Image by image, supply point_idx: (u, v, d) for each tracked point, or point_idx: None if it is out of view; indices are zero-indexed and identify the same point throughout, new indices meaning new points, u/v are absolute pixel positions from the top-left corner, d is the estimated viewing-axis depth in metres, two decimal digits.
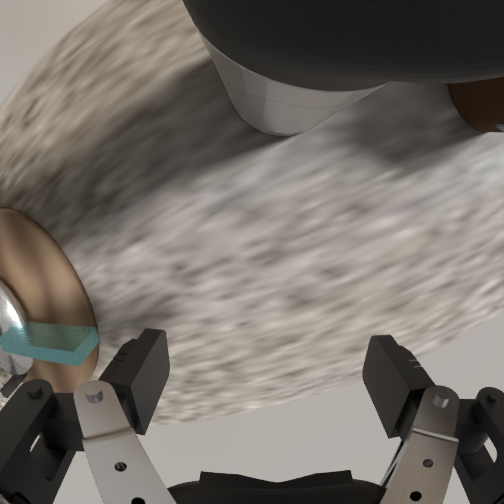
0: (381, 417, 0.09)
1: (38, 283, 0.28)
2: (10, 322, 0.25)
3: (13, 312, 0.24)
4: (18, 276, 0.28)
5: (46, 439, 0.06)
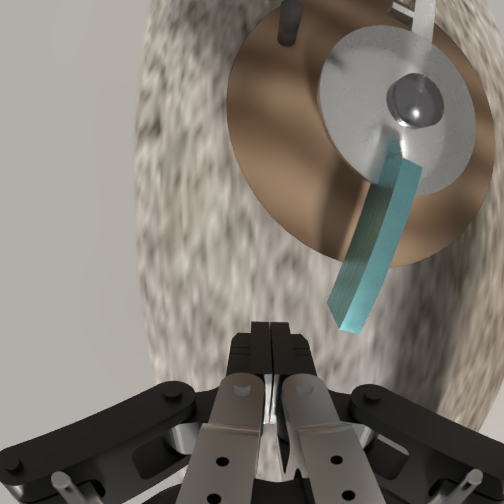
0: None
1: None
2: None
3: (417, 193, 0.20)
4: None
5: (165, 441, 0.07)
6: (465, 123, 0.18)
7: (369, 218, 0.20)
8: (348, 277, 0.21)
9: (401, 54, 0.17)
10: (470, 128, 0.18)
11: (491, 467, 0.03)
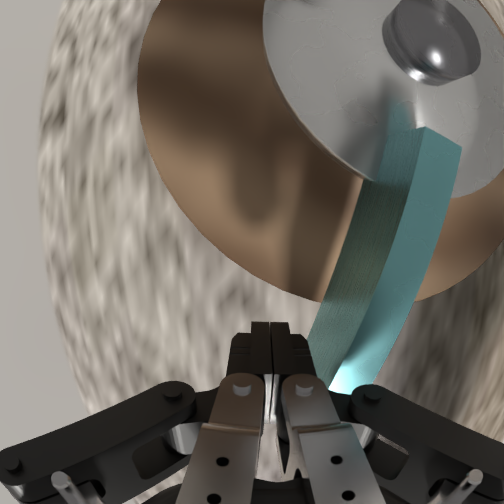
0: None
1: None
2: None
3: None
4: None
5: (165, 441, 0.07)
6: None
7: (360, 245, 0.11)
8: (322, 347, 0.12)
9: None
10: None
11: (491, 467, 0.03)
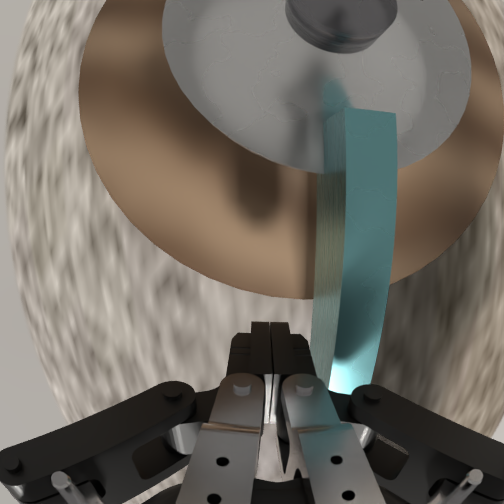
0: None
1: None
2: None
3: (405, 162, 0.10)
4: None
5: (165, 441, 0.07)
6: (441, 19, 0.08)
7: (325, 243, 0.11)
8: (319, 349, 0.12)
9: None
10: (452, 25, 0.08)
11: (491, 467, 0.03)
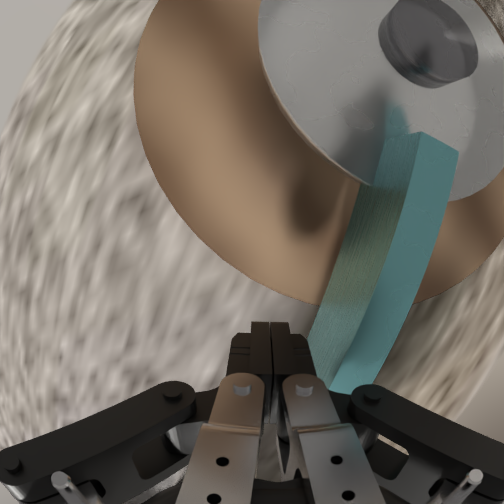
0: None
1: (339, 217, 0.16)
2: None
3: None
4: None
5: (165, 441, 0.07)
6: None
7: (357, 250, 0.11)
8: (321, 351, 0.12)
9: None
10: None
11: (491, 467, 0.03)
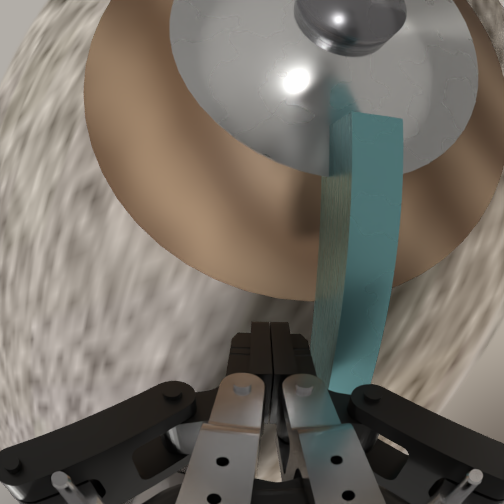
0: None
1: (273, 201, 0.15)
2: None
3: (410, 167, 0.10)
4: None
5: (165, 441, 0.07)
6: (450, 25, 0.08)
7: (328, 246, 0.11)
8: (319, 352, 0.12)
9: None
10: (460, 31, 0.08)
11: (491, 467, 0.03)
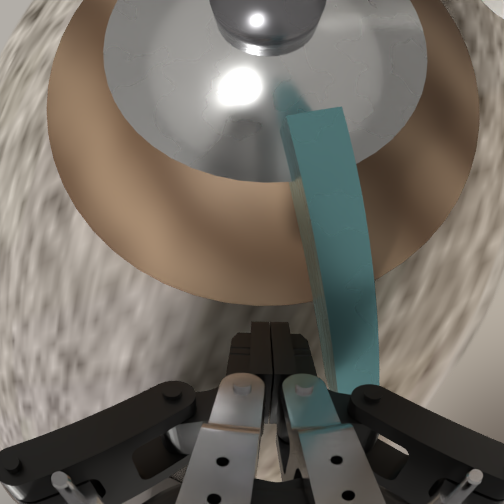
0: None
1: (215, 207, 0.16)
2: None
3: (374, 148, 0.10)
4: None
5: (165, 441, 0.07)
6: None
7: (308, 250, 0.11)
8: (326, 352, 0.12)
9: None
10: None
11: (491, 467, 0.03)
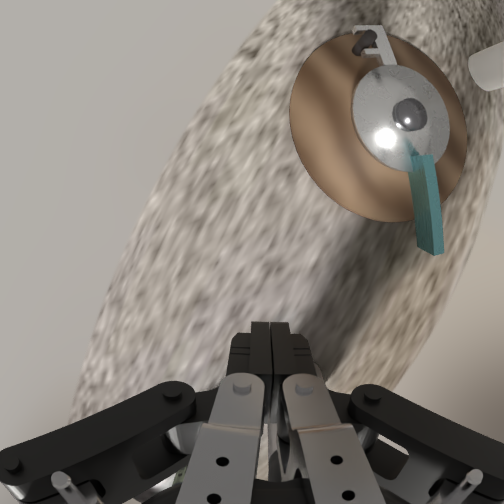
0: None
1: (374, 180, 0.37)
2: (423, 154, 0.31)
3: (433, 163, 0.31)
4: None
5: (165, 441, 0.07)
6: (437, 105, 0.29)
7: (418, 192, 0.32)
8: (423, 227, 0.33)
9: (387, 86, 0.29)
10: (441, 106, 0.29)
11: (491, 467, 0.03)
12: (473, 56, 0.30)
